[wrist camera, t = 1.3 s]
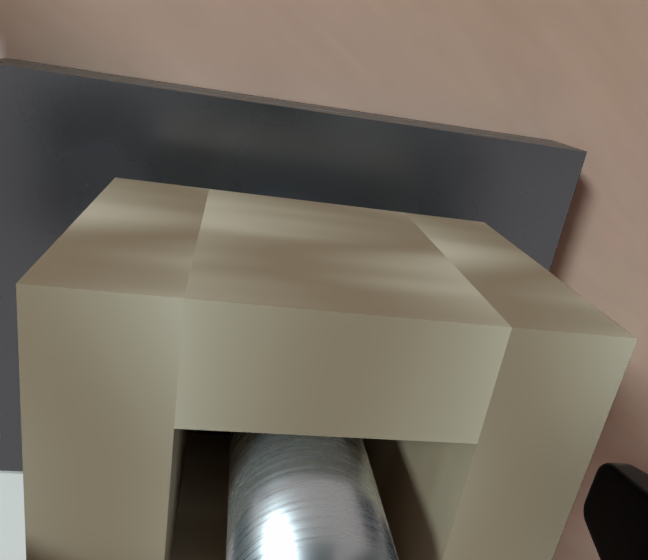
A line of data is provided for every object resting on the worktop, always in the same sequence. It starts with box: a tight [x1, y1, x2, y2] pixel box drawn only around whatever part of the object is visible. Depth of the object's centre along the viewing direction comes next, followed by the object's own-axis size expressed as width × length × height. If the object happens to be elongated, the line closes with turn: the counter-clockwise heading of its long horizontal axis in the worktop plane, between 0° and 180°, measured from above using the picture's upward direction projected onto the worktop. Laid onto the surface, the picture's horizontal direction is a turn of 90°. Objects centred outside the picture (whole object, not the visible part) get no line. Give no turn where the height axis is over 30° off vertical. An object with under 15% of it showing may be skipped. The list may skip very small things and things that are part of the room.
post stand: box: [0, 58, 587, 560], centre depth 10 cm, size 12×9×9 cm
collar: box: [16, 177, 638, 560], centre depth 9 cm, size 6×6×4 cm
